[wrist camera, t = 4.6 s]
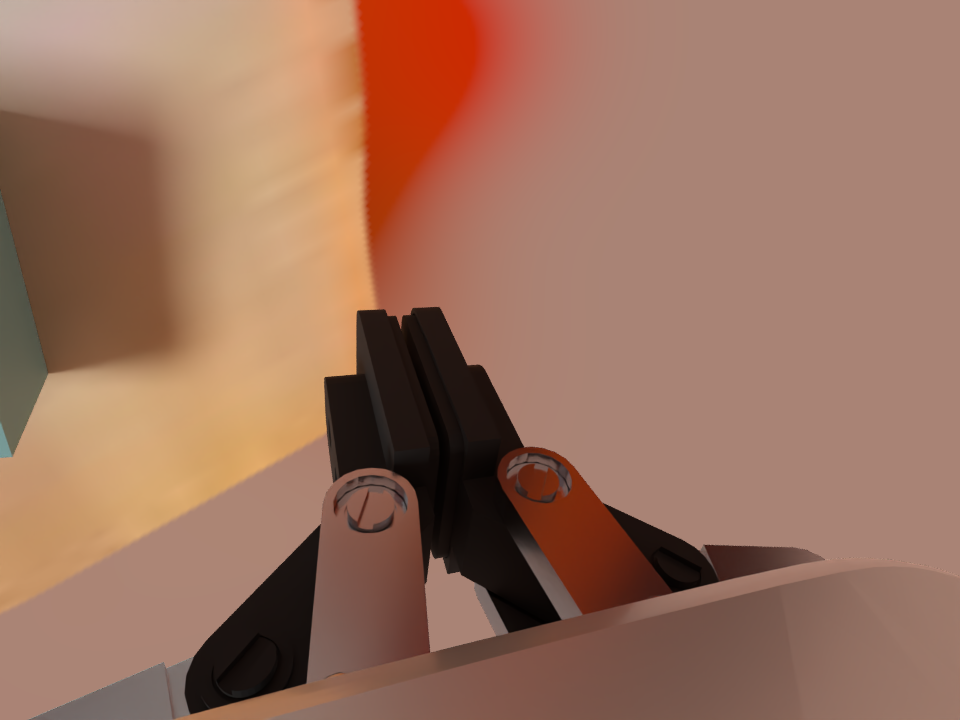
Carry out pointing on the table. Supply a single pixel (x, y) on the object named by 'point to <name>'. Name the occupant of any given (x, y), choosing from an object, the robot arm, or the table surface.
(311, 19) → the table surface
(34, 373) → the teal square block
